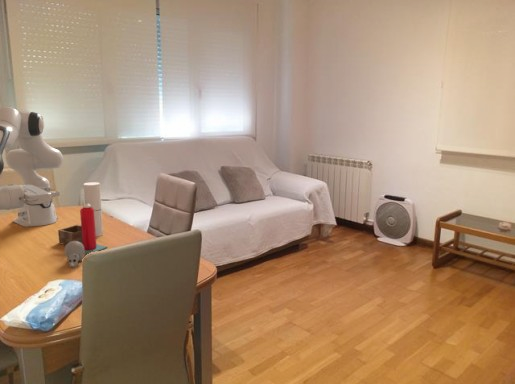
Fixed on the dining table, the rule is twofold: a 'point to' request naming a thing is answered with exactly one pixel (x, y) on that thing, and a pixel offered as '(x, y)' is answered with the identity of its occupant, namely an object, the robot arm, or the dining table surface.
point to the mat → (99, 247)
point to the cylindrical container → (94, 204)
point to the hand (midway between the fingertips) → (54, 191)
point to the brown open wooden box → (70, 234)
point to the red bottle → (88, 227)
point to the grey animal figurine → (74, 252)
